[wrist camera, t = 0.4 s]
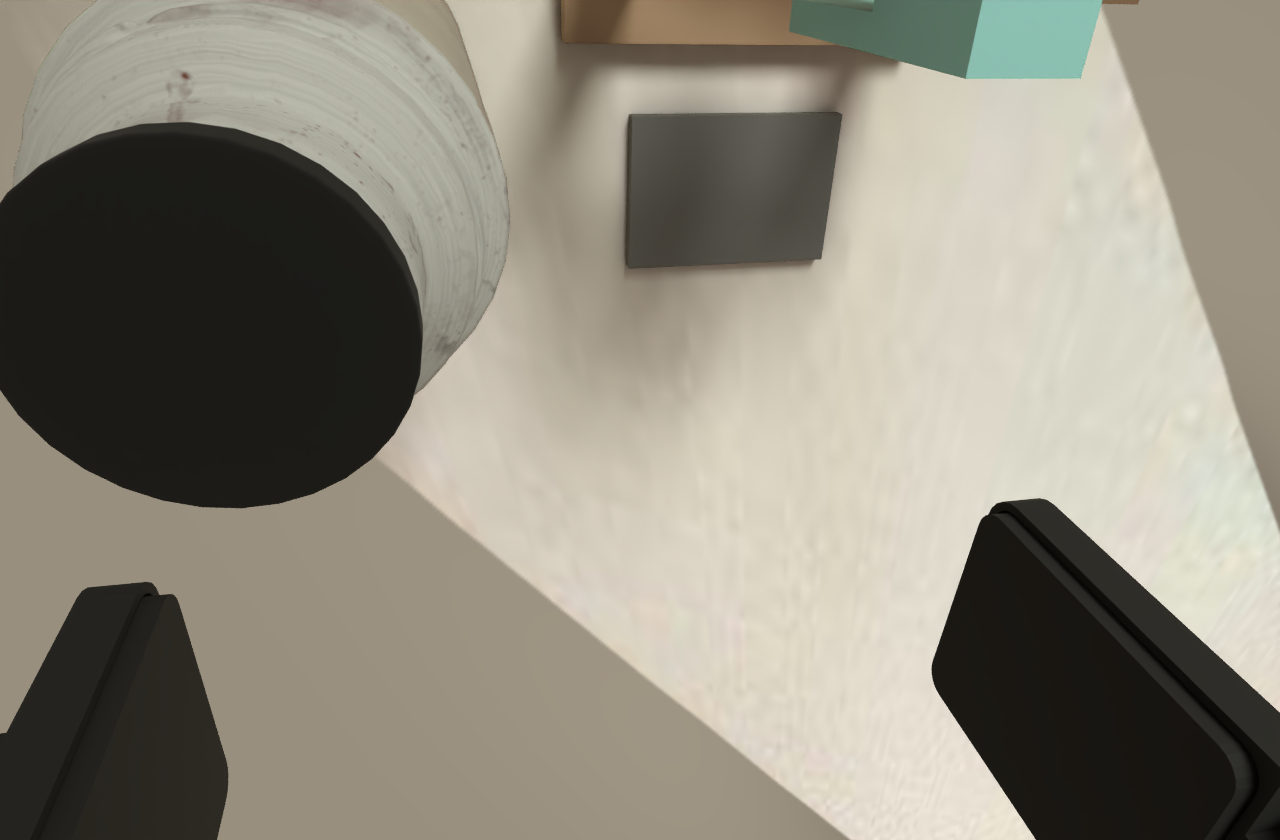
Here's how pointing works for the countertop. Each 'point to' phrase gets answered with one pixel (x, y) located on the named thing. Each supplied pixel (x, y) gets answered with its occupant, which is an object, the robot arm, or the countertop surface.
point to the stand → (686, 22)
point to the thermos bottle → (244, 239)
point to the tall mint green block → (960, 33)
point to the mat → (729, 187)
